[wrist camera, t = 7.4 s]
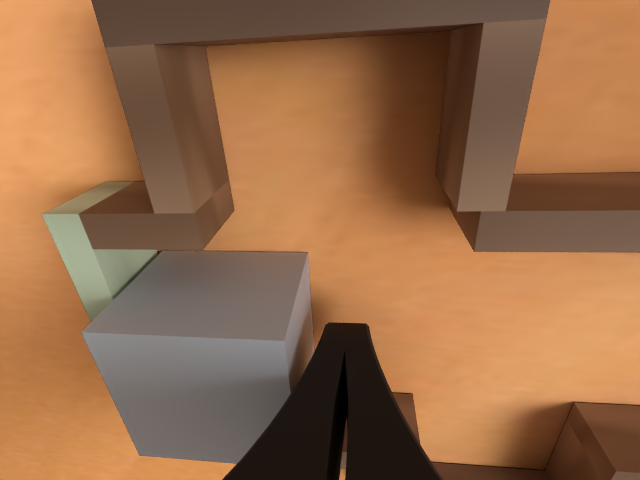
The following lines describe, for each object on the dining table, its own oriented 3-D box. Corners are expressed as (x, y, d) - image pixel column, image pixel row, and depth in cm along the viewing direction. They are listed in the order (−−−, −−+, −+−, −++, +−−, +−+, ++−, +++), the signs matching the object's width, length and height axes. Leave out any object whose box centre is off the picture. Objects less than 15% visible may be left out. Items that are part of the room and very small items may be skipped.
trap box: (623, 489, 16) (667, 562, 13) (202, 457, 18) (179, 514, 16) (978, -65, 7) (1283, -122, 4) (45, 10, 9) (-59, -4, 7)
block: (315, 362, 14) (299, 468, 10) (193, 356, 14) (139, 455, 11) (307, 252, 11) (284, 341, 8) (163, 250, 12) (80, 332, 8)
